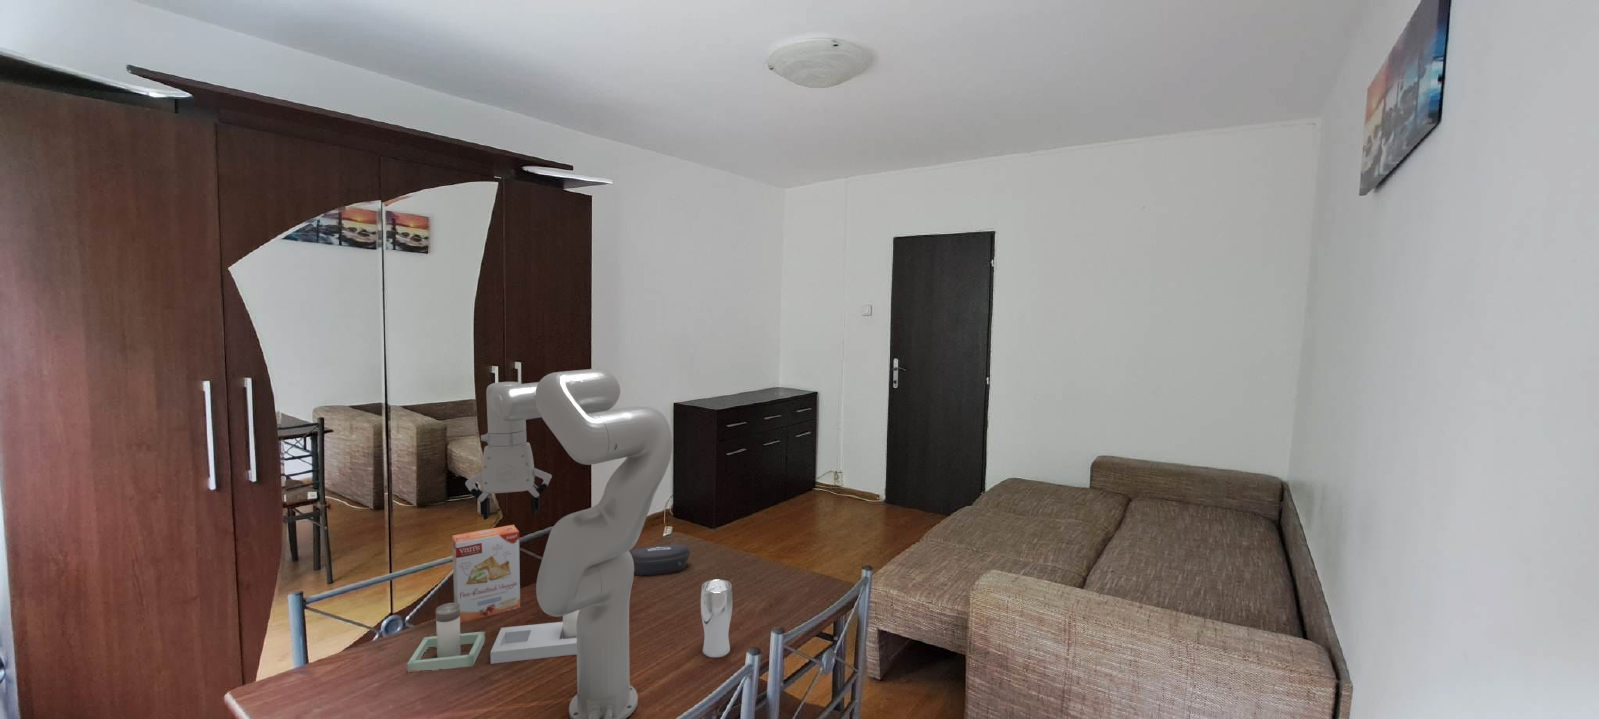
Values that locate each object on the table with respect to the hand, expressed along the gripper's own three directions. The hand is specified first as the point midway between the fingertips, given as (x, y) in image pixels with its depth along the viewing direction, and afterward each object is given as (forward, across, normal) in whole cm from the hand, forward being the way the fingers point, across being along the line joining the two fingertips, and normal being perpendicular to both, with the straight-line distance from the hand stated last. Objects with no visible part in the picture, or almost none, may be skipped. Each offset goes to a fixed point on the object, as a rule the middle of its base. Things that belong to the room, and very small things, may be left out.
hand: (510, 515), depth 137 cm
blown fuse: (+29, -13, -2) cm, 32 cm away
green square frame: (+30, -13, -2) cm, 33 cm away
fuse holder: (+30, +6, -3) cm, 31 cm away
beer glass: (+31, +43, -12) cm, 55 cm away
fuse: (+29, +12, -3) cm, 32 cm away
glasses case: (+30, +33, +33) cm, 56 cm away
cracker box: (+30, -9, +16) cm, 35 cm away
